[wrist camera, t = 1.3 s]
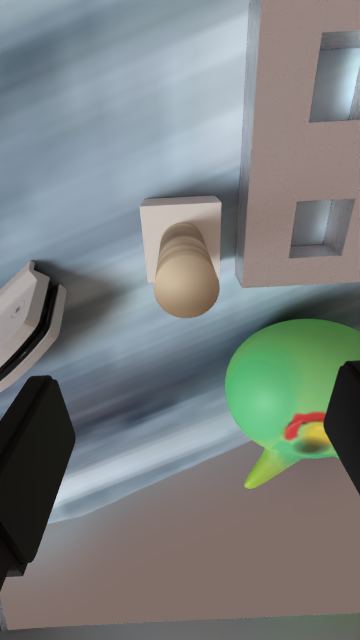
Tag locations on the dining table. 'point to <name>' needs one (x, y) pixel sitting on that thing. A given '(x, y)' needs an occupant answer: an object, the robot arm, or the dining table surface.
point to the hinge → (27, 321)
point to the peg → (185, 273)
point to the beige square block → (180, 210)
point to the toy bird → (287, 390)
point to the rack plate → (296, 147)
